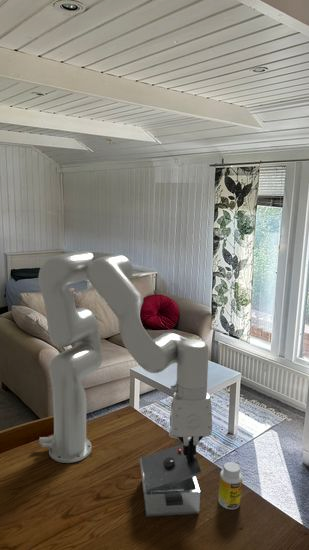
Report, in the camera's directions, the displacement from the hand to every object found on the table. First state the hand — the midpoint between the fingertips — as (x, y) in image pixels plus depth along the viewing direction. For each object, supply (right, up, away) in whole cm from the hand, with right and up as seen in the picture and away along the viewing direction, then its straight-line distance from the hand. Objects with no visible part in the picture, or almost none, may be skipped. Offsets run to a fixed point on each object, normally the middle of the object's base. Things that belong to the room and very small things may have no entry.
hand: (189, 456), depth 105 cm
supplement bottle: (+10, -12, 0) cm, 16 cm away
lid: (-5, -3, 0) cm, 6 cm away
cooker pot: (-5, -11, +2) cm, 12 cm away
